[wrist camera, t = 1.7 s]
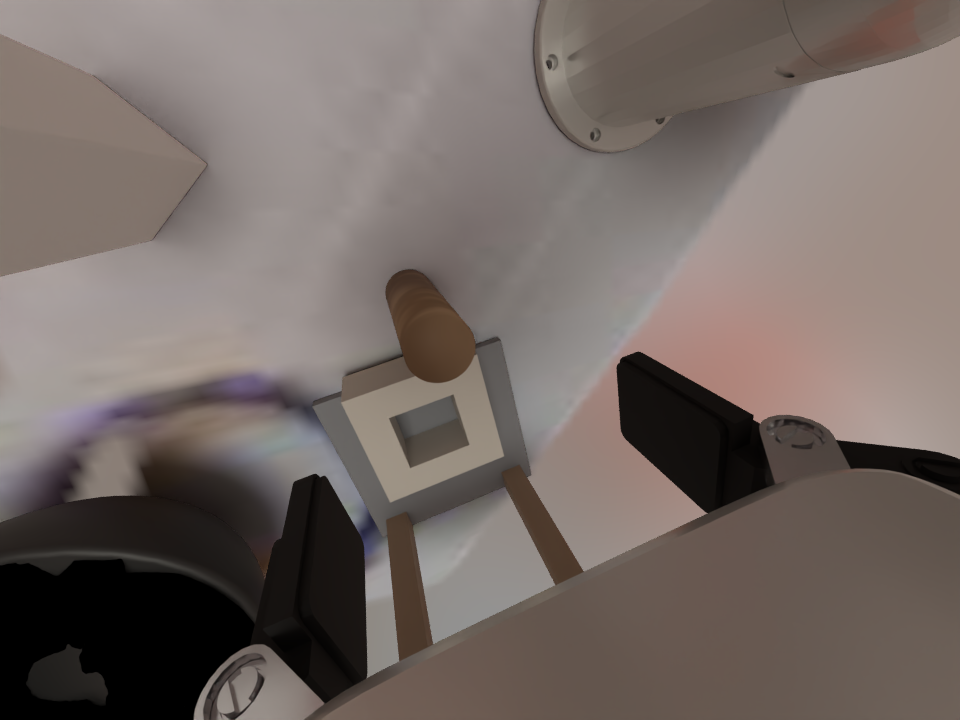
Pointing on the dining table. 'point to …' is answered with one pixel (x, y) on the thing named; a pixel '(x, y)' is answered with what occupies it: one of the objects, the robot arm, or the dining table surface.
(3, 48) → the milk
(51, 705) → the coal bowl
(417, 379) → the socket station
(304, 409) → the dining table surface
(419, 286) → the peg
